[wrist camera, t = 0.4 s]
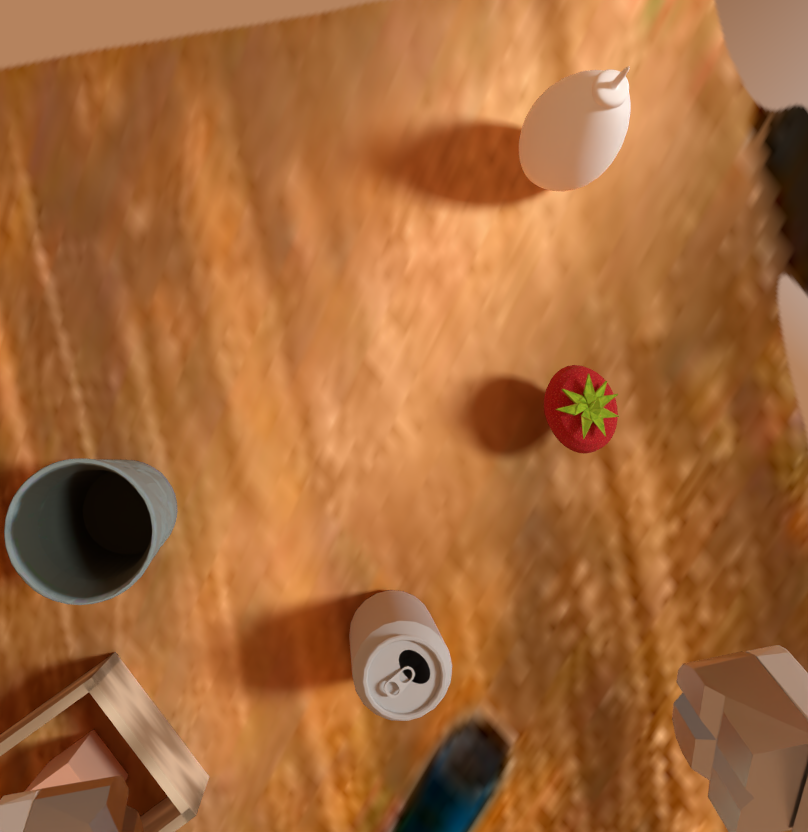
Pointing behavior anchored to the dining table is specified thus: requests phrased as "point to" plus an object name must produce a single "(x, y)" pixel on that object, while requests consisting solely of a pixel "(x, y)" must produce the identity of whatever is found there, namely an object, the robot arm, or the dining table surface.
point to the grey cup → (88, 527)
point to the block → (79, 764)
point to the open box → (131, 739)
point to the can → (398, 656)
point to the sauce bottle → (575, 129)
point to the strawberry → (580, 409)
